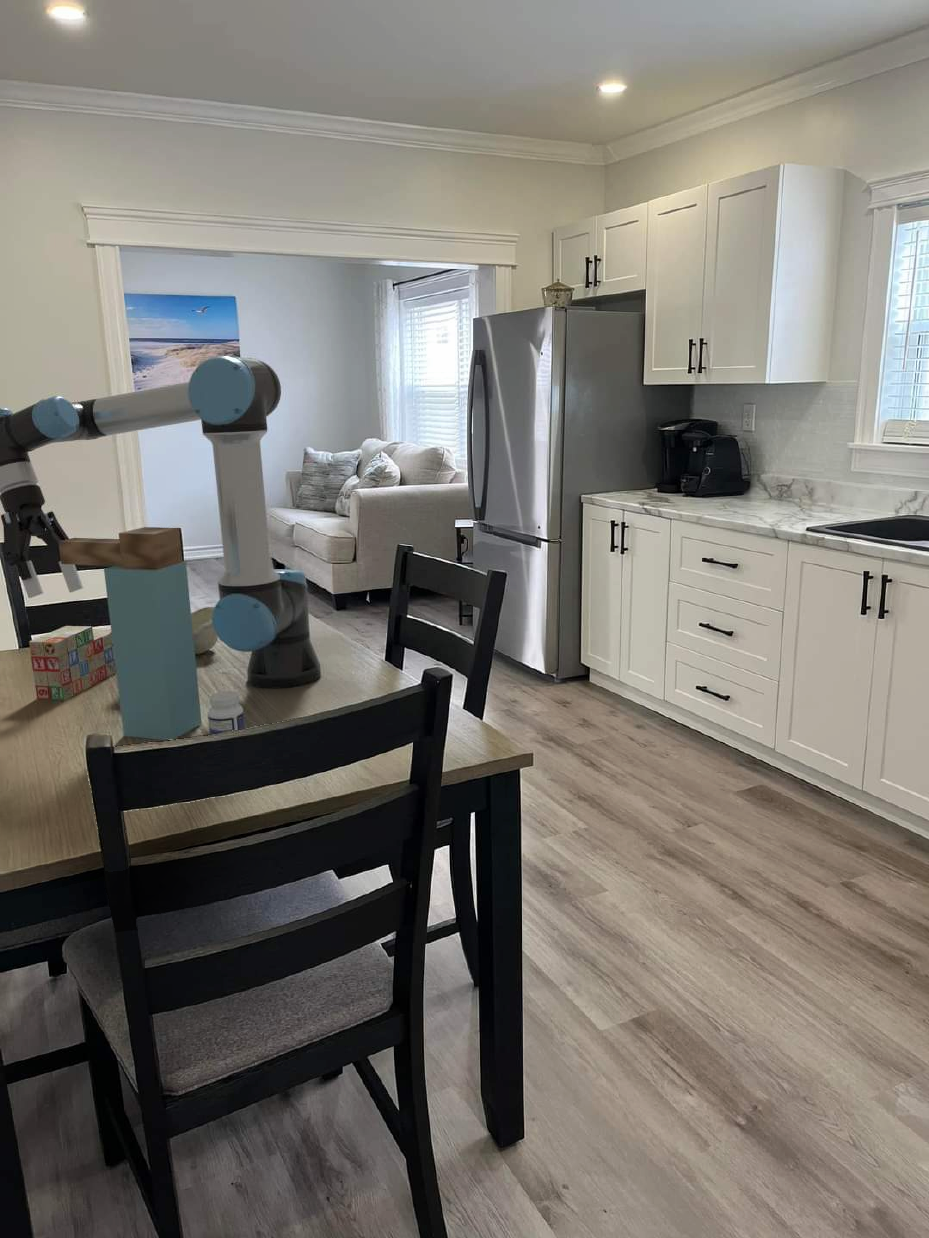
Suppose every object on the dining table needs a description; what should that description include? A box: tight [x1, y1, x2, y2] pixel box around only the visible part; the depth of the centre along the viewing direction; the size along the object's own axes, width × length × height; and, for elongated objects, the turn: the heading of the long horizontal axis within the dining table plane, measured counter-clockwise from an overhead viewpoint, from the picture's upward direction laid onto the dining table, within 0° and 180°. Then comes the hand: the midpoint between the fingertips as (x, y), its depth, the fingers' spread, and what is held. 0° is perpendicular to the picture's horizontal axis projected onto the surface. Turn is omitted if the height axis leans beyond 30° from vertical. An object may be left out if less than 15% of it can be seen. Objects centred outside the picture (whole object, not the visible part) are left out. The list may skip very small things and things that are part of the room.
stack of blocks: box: [28, 625, 116, 701], centre depth 194 cm, size 21×6×12 cm, turn 169°
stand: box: [103, 560, 203, 741], centre depth 163 cm, size 10×9×30 cm
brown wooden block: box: [58, 526, 183, 570], centre depth 161 cm, size 21×7×6 cm, turn 72°
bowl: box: [191, 606, 219, 655], centre depth 215 cm, size 15×14×10 cm
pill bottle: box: [207, 690, 246, 735], centre depth 155 cm, size 6×6×10 cm
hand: (57, 593), depth 181 cm, fingers open, 13 cm apart
